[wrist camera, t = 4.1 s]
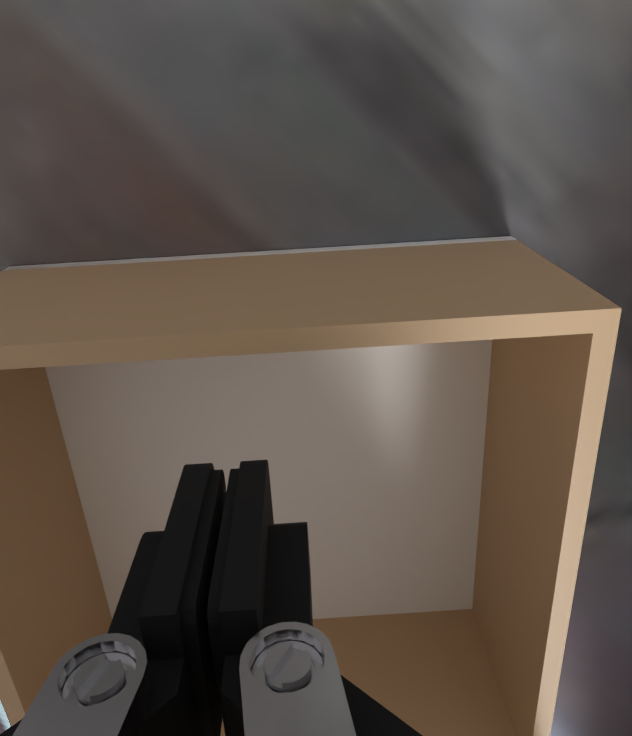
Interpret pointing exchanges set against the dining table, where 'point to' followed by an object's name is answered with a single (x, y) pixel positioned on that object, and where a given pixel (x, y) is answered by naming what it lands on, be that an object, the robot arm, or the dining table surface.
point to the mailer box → (317, 452)
